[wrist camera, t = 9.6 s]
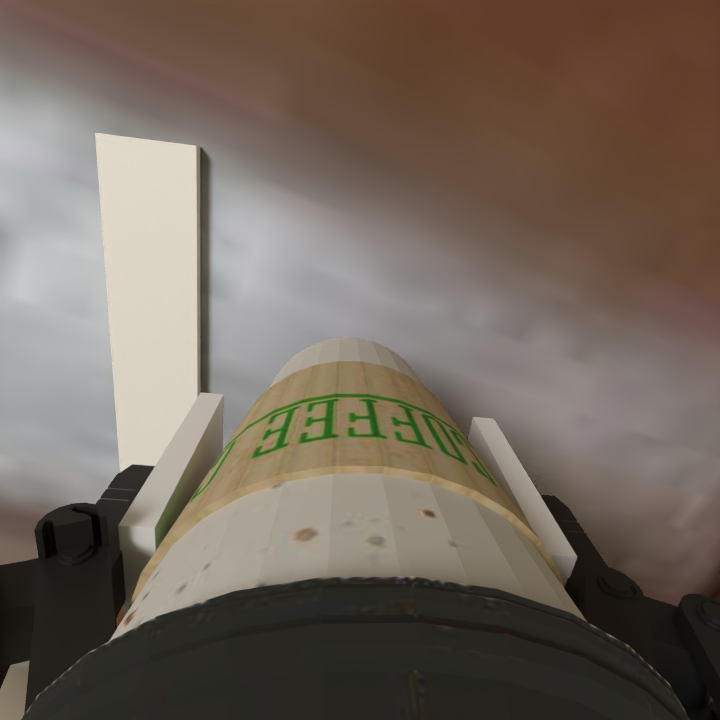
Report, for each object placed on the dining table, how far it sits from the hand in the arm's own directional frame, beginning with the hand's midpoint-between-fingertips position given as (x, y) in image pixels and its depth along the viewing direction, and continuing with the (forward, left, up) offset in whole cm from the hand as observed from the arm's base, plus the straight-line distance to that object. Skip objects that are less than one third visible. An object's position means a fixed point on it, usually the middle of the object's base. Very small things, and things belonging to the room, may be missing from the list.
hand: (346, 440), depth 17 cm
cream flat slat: (-9, -3, -8) cm, 12 cm away
